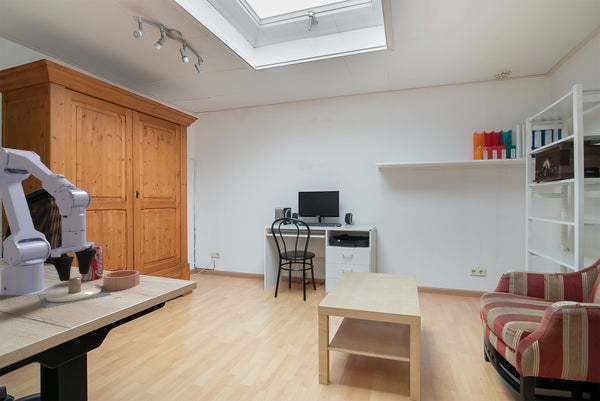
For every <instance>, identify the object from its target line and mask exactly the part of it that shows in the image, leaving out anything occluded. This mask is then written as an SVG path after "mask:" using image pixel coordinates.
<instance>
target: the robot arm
mask: <svg viewBox="0 0 600 401" xmlns="http://www.w3.org/2000/svg"><path fill="white" fill-rule="evenodd" d="M30 175H32V176H34V177H35V178H36V179H38V180H39V181H40V182H41V187H42V188H43V189H44V190H45V191H46V193H47V192H48V193H49V194H50V195H51V196H52V197H53V198H54V199H55V204H56V206H57V208H58V213H59V215H60V216H61V246H59V247H57V248H53V249H52V247H51V244H50V242H49V241H48V240H47V238H46V236H45V234H44V233H42V232H40V231H38V230H36V229H35V226H34V223H33V219H32V217H31V213H30V212H31V211H30V208H29V206H28V202H27V199H26V196H25V193H24V189H23V185H22V181H24V180H26V179H28V178H29V177H30ZM0 198H1V201H2V205H3V209H4V212H5V215H6V219H7V223H8V227H9V229H10V233H11V234H10V235H9V236H8V237H7V238H6V239H4V241H3V242H2V245H3V250H2V252H3V253H2V257H3V260H4V261H5V262H6V263H7V265H6V266H4V267H3V269H2V270H1V273H0V296H32V295H33V294H34V295H35V294H37V293H39V292H42V291H45V290H47V289H50V288H52V286H45V278H44V276H45V269H44V268H45V266H44V265H45V264H44V262H47V258H48V259H49V261H50V262H51V264H52V265H53V266H54V268H55V270H56V272H57V275H58V278H59V281H60V282H68V281H69V279H70V278H71V270H72V269H71V268H72V264H73V261H74V259H75V257H76V260H77V264H78V272H79V275H81V274H88V272H89V268H90V264H91V261H92V259H93V257H94V255H95V254H96V249H92V248H94V245H95V241H87V208H88V207H89V206H90V204H91V201H92V200H91V199H92V197H91V195H90V193H89V192H88V190H87V189H85V188H84V189H83V188H78V187H76V185H75V184H73V183H71V182H70V181H69V180H68V179H67V178H66V175H64V174H62V173H61V174H59V173H53V172H52V171H51V170H50V169H49V168H48V167H47V166H46V165H45V164H44V163H43V162H42V161H41V156H40V155H38V154H37V153H36V152H35V151H32V150H22V149H13V148H5V147H1V146H0ZM73 253H74V254H75V255H73V256H72V255H70V256H69V254H73Z"/></svg>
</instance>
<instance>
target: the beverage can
mask: <svg viewBox="0 0 600 401" xmlns="http://www.w3.org/2000/svg"><path fill="white" fill-rule="evenodd" d="M92 249H96V254H95V255H94V257H93V259H92V261H91V264H90V268H89V272H88V274H80V277H81V281H85V282H87V281H89V282H90V281H96V280H99V279H103V276H104V253H103V252H104V250H103V247H102V246H101V244H94V248H92Z"/></svg>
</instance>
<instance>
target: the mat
mask: <svg viewBox="0 0 600 401" xmlns="http://www.w3.org/2000/svg"><path fill="white" fill-rule="evenodd" d="M91 286H98V287H101V293H99V294H98V295H96V296H93V297H90V298H86V299H82V300H77V301H71V302H58V303H57V302H48V301H46V295H48V294H49V293H50V292H46V293H41V294H38V297H39V300H40V302H41V304H42V306H43V309H49V308H54V307H58V306H64V305H69V304H73V303H74V304H75V303H78V302H83V301H88V300H94V299H98V298H103V297H104V298H105V297H108V296H112V294H111V293H109V291H107V289H103V287H102V286H101V285H100V284H99V283H97V284H92V285H91Z"/></svg>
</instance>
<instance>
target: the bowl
mask: <svg viewBox="0 0 600 401" xmlns="http://www.w3.org/2000/svg"><path fill="white" fill-rule="evenodd" d="M140 274H141V273H140V270H134V269H124V270H117V271H116V270H115V271H111V272H108V273H106V274H103V277H102V280H103V282H102V283H103V285H102V286H103V287H102V288H103V289H105V290H106V291H107V290H108V291H115V290H116V291H118V290H119V291H121V290H125V289H131V288H134V287H137V286H138V285H140V284H141V283H140V282H141V281H140V279H141V278H140V277H141V276H140Z"/></svg>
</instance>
